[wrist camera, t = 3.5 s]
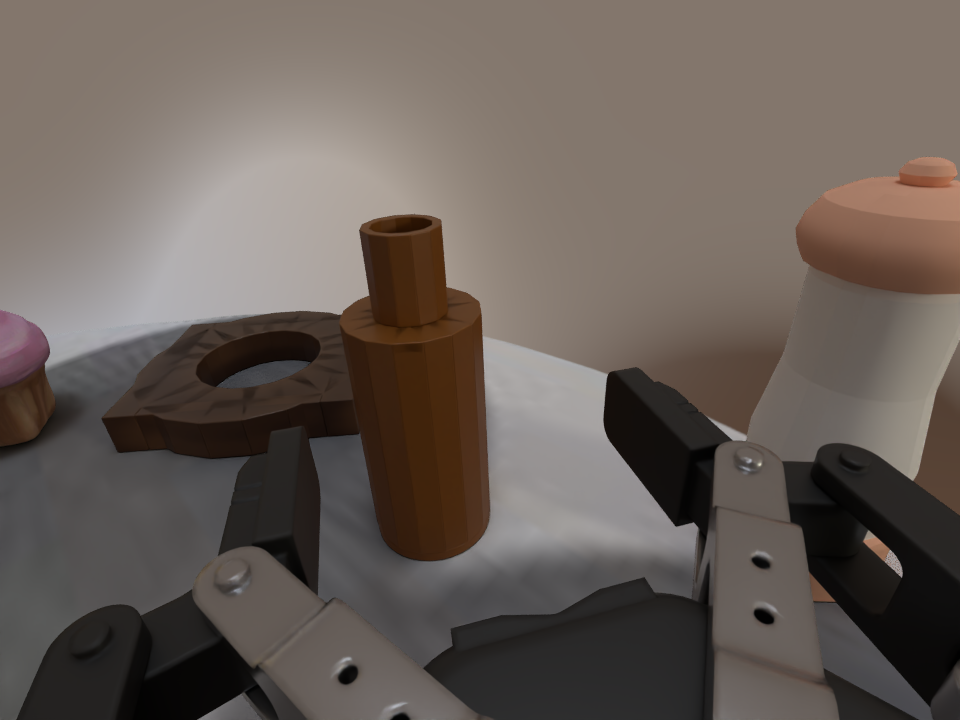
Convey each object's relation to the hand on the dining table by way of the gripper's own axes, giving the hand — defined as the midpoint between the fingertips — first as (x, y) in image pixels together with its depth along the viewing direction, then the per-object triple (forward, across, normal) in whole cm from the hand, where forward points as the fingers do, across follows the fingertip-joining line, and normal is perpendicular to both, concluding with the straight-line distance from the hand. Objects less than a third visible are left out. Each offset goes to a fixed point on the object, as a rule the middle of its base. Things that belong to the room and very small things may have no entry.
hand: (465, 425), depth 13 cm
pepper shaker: (+4, -18, +15) cm, 23 cm away
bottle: (+11, 0, +14) cm, 18 cm away
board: (+30, +11, +14) cm, 35 cm away
